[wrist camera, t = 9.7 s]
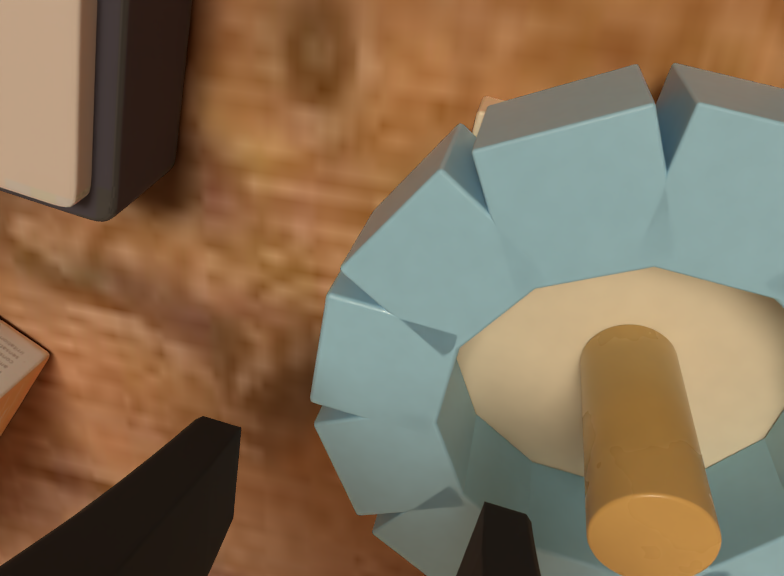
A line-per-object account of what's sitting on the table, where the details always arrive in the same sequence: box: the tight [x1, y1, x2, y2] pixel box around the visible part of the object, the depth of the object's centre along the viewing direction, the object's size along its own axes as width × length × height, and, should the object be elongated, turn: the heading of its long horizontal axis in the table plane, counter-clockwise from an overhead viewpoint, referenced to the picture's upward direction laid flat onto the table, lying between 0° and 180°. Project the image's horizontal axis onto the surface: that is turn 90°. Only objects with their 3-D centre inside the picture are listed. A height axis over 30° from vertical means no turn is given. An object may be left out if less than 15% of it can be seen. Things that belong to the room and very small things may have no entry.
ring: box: [310, 63, 784, 576], centre depth 14 cm, size 12×12×3 cm
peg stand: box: [457, 96, 784, 576], centre depth 13 cm, size 9×9×6 cm
